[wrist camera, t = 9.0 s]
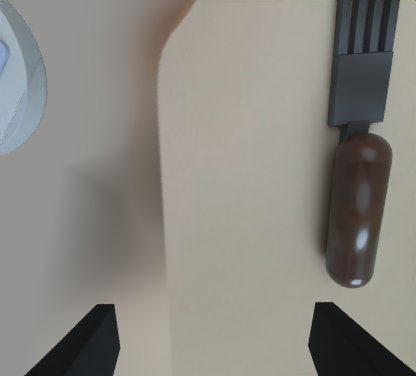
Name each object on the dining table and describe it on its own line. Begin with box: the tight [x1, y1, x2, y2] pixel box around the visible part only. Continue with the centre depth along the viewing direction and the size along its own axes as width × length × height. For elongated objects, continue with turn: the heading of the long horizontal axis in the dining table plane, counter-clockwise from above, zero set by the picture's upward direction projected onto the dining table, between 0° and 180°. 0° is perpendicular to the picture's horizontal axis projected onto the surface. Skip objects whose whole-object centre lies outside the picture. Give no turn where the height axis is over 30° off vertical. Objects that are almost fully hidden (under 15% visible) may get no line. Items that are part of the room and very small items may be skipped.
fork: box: [325, 0, 400, 288], centre depth 15 cm, size 20×3×3 cm, turn 4°
